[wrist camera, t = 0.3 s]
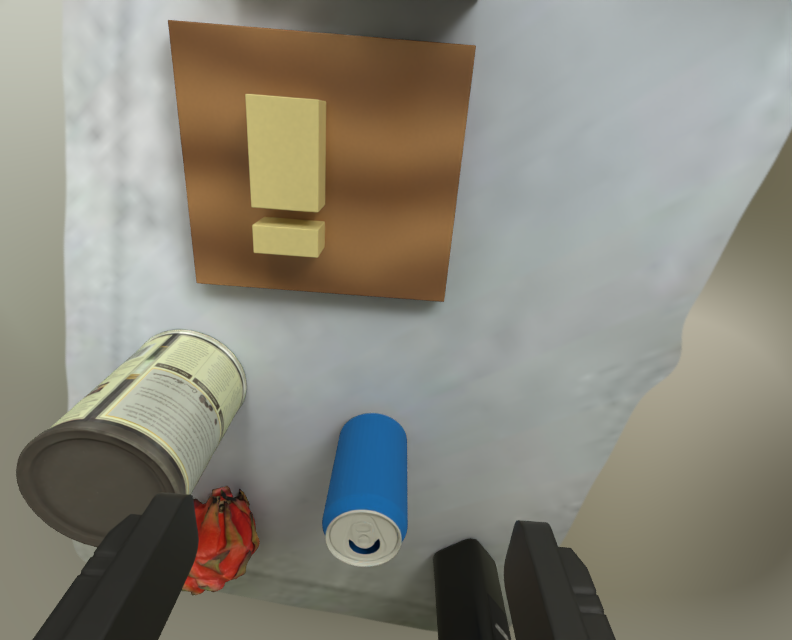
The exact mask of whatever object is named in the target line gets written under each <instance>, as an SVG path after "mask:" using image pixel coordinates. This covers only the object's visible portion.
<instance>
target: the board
mask: <svg viewBox="0 0 792 640" xmlns="http://www.w3.org/2000/svg"><path fill="white" fill-rule="evenodd" d="M168 25H169V35H170V44H171V53H172V62H173V71H174V80H175V89H176V99H177V108H178V117H179V126H180V135H181V144H182V153H183V163H184V172H185V181H186V190H187V199H188V208H189V217H190V227H191V236H192V245H193V254H194V263H195V272H196V282H197V283H202V284H215V285H228V286H241V287H255V288H268V289H281V290H295V291H308V292H321V293H335V294H348V295H361V296H374V297H388V298H401V299H414V300H428V301H441V302H444V297H445V289H446V281H447V273H448V265H449V257H450V249H451V241H452V233H453V225H454V217H455V209H456V201H457V193H458V185H459V177H460V169H461V161H462V153H463V145H464V137H465V129H466V121H467V113H468V105H469V97H470V89H471V81H472V73H473V65H474V57H475V49H476V46H475V45H463V44H451V43H439V42H427V41H415V40H403V39H391V38H379V37H367V36H355V35H343V34H331V33H319V32H307V31H295V30H283V29H271V28H258V27H246V26H234V25H222V24H210V23H198V22H186V21H174V20H168ZM245 94H255V95H267V96H279V97H292V98H304V99H316V100H322V101H326V169H325V205H324V206H323V208H322V209H321V210H320V211H319V212H304V211H292V210H279V209H266V208H253V207H251V191H250V173H249V155H248V136H247V118H246V99H245ZM263 217H274V218H287V219H300V220H313V221H324V222H325V247H324V249H323V250H322V252H321V253H320V255H319V257H318V258H315V257H302V256H289V255H276V254H263V253H254V248H253V230H252V225H253V224H255V223H256V222H258V221H259V220H261V219H262V218H263Z"/></svg>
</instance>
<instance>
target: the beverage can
mask: <svg viewBox="0 0 792 640" xmlns="http://www.w3.org/2000/svg"><path fill="white" fill-rule="evenodd" d="M407 525H408V520H407V437H406V433H405V431H404V429H403V428H402V426H401V425H400V424H399V423H398V422H397V421H396V420H394V419H393V418H391V417H389V416H386V415H383V414H379V413H365V414H361V415H358V416H356V417H353V418H352V419H350V420H349V421H348V422H347V423H346V424H345V425H344V426H343V428H342V430H341V432H340V436H339V441H338V446H337V451H336V456H335V460H334V465H333V470H332V475H331V480H330V485H329V490H328V495H327V500H326V505H325V509H324V514H323V520H322V526H323V531H324V534H325V540H326V545H327V547H328V549H329V551H330V552H331V553H332V554H333V555H334V556H335V557H336V558H338V559H339V560H341V561H342V562H344V563H347V564H350V565H353V566H359V567H372V566H377V565H381V564H383V563H386V562H388V561H389V560H391V559H392V558H393V557H394V556H395V555H396V554H397V553H398V551H399V549H400V547H401V543H402V541H403V540H404V538H405V535H406V533H407Z"/></svg>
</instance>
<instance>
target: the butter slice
mask: <svg viewBox="0 0 792 640" xmlns="http://www.w3.org/2000/svg"><path fill="white" fill-rule="evenodd" d="M252 230H253V248H254V253H263V254H276V255H289V256H302V257H315V258H318V257H319V255H320V253H321V252H322V250H323V249H324V247H325V222H324V221H313V220H300V219H287V218H274V217H263V218H262V219H261V220H259V221H258V222H256V223H255V224H253V225H252Z"/></svg>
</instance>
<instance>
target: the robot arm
mask: <svg viewBox="0 0 792 640" xmlns="http://www.w3.org/2000/svg"><path fill="white" fill-rule="evenodd" d="M198 543H199V537H198V529H197V522H196V515H195V507H194V500H193V497H192V495H189V494H176V493H162V492H160V493H158V494H156V495H155V496H154V497H153V499H152V500H151V502H150V503H149V505H148V506H147V508H146V510H145V511H144V513H143V514H142V515H138V514H130V515H129V516H127V517H126V518H125V519H124V520H122V521H121V522H120V523H119V524H118V525H116V526H115V527H114V528H113V529H111V530H110V531H109V532H108V534H107V535H106V536H105V538H104V539H103V541H102V542H101V543H100V545H99V546H98V548H97V549H96V551H95V552H94V555H93V557H91V558H90V559H89V560H88V562H87V563H86V565H85V566H84V568H83V569H82V571H81V574H80V575H78V576H77V578H76V579H75V580H74V582H73V583H72V585H71V586H70V587H69V589H68V590H67V592H66V593H65V595H64V596H63V597H62V599H61V600H60V602H59V603H58V605H57V606H56V607H55V609H54V610H53V612H52V613H51V614H50V616H49V617H48V619H47V620H46V622H45V623H44V624H43V626H42V627H41V628H40V630H39V631H38V633H37V634H36V636H35V637H34V638H33V640H158V639H159V637H160V635H161V632H162V630H163V628H164V626H165V624H166V621H167V620H168V617H169V615H170V613H171V611H172V609H173V607H174V605H175V603H176V600H177V598H178V596H179V594H180V592H181V590H182V588H183V585H184V583H185V581H186V579H187V577H188V575H189V573H190V571H191V568H192V566H193V564H194V561H195V558H196V554H197V550H198ZM504 583H505V590H506V595H507V600H508V604H509V609H510V614H511V619H512V624H513V628H514V633H515V638H516V640H616V639H615V637H614V634H613V632H612V629H611V627H610V624H609V622H608V619H607V617H606V615H604V609H603V607H602V604H601V602H600V599H599V597H598V595H596V589H595V587H594V584H593V581H592V579H591V576H590V574H589V571H588V569H587V567H586V566H585V565H584V564H583V562H582V561H581V560H580V559H579V558H578V556H577V555H576V554H575V552H574V551H573V550H572V549H571V548H565V547H558V546H557V543H556V540H555V537H554V534H553V531H552V529H551V527H550V525H549V524H548V523H546V522H533V521H519V520H518V521H516V523H515V525H514V529H513V532H512V536H511V540H510V544H509V548H508V551H507V555H506V559H505V564H504Z"/></svg>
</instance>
